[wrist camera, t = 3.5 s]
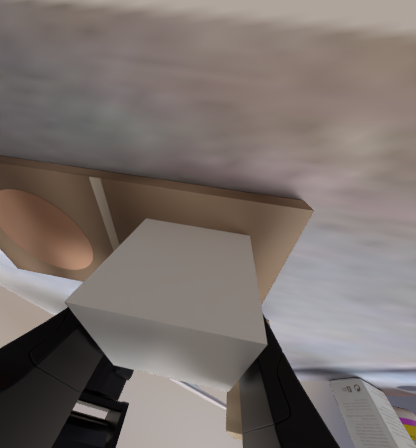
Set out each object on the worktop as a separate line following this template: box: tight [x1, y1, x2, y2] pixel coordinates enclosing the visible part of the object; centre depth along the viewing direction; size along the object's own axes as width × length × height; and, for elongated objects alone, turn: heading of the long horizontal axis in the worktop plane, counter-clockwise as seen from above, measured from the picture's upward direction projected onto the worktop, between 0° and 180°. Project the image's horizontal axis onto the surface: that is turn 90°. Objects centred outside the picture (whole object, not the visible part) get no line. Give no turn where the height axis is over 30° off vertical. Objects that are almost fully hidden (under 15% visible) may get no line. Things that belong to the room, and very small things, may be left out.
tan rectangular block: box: [226, 320, 270, 440], centre depth 13 cm, size 4×4×7 cm
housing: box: [65, 218, 268, 392], centre depth 8 cm, size 6×6×5 cm
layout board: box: [0, 156, 314, 305], centre depth 11 cm, size 22×10×1 cm, turn 84°
